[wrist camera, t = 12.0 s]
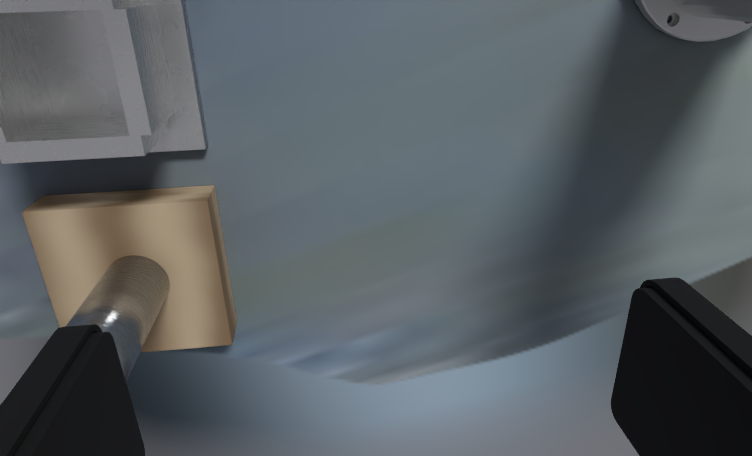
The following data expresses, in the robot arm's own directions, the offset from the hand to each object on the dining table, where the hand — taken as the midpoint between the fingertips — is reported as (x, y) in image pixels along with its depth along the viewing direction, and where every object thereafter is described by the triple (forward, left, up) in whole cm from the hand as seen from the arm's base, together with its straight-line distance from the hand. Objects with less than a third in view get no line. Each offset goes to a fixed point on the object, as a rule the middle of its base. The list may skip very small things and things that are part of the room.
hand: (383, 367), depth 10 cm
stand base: (+15, -2, -30) cm, 34 cm away
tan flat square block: (+15, +13, -30) cm, 36 cm away
